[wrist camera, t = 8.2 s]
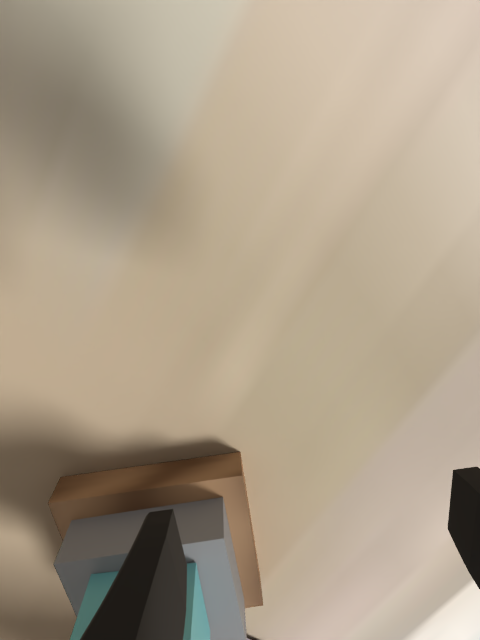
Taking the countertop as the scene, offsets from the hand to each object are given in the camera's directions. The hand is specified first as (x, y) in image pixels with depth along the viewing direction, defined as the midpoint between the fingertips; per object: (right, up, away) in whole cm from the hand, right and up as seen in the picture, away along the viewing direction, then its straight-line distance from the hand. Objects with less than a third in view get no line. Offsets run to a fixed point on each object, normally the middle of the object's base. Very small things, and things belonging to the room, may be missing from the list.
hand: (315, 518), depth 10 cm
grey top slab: (-6, -8, +12) cm, 16 cm away
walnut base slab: (-6, -7, +14) cm, 17 cm away
